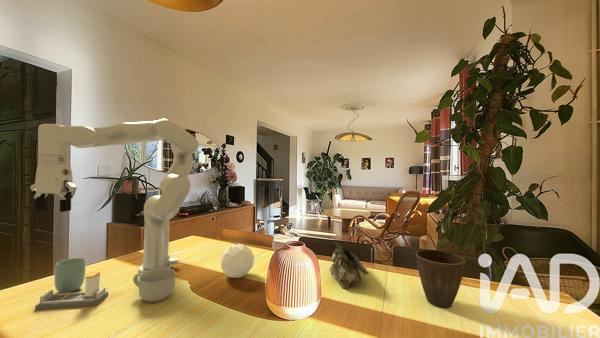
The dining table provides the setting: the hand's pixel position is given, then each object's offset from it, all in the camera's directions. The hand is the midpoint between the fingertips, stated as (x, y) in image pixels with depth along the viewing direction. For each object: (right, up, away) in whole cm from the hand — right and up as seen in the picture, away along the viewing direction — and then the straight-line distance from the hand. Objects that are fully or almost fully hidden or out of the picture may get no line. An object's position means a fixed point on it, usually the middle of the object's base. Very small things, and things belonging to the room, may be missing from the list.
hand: (53, 210), depth 86 cm
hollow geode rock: (+105, -32, +21) cm, 111 cm away
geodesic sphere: (+58, -30, +18) cm, 68 cm away
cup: (+4, -28, +1) cm, 29 cm away
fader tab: (+17, -27, -5) cm, 32 cm away
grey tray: (+12, -28, -6) cm, 31 cm away
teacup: (+35, -29, -1) cm, 45 cm away
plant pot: (+132, -32, +1) cm, 136 cm away
